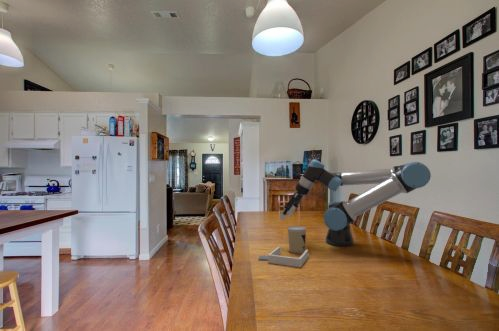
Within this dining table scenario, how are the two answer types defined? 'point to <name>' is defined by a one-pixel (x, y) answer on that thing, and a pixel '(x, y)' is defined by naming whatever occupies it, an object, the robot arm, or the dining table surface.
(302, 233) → the coffee cup
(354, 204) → the robot arm
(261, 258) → the slate tile
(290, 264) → the frame
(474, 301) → the dining table surface
